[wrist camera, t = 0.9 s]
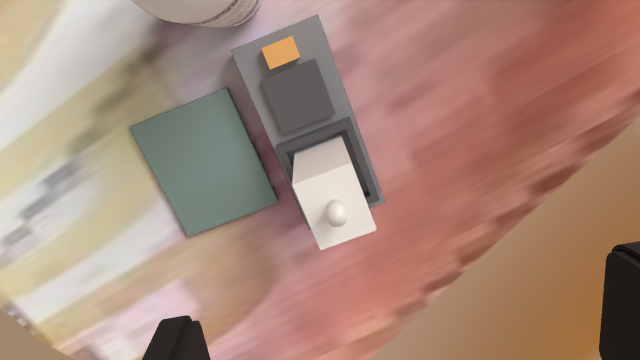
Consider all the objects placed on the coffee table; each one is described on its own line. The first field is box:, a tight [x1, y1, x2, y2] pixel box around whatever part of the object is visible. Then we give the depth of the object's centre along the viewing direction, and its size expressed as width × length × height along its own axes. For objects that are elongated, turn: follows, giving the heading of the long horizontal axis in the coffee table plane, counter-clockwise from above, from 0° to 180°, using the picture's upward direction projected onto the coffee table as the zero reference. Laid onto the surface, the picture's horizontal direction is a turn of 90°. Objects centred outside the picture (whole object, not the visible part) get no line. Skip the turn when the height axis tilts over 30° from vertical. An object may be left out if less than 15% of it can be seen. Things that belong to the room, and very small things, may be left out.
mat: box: [129, 88, 279, 236], centre depth 36 cm, size 9×11×1 cm
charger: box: [292, 134, 377, 250], centre depth 30 cm, size 4×5×10 cm
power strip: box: [230, 14, 385, 230], centre depth 34 cm, size 7×16×4 cm, turn 21°
